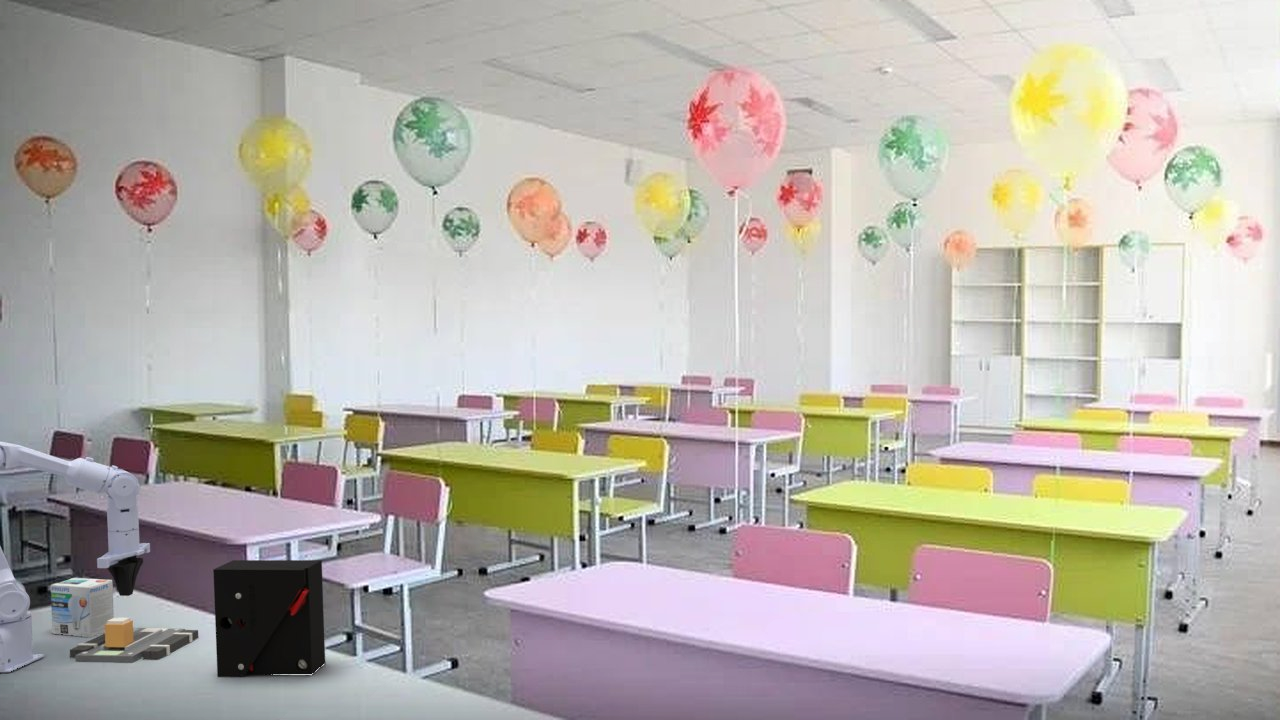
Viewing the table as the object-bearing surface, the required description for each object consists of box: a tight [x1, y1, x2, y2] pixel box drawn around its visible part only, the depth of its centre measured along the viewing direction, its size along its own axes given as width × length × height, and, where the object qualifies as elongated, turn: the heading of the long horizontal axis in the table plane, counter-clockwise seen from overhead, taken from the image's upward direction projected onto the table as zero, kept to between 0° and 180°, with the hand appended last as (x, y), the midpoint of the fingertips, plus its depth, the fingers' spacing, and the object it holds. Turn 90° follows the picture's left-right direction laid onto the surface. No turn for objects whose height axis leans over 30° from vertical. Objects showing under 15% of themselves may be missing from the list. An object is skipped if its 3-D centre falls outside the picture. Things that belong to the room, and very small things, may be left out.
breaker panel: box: [74, 627, 186, 664], centre depth 209 cm, size 18×12×2 cm, turn 173°
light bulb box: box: [50, 577, 115, 638], centre depth 221 cm, size 11×7×11 cm, turn 73°
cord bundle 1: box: [69, 632, 105, 659], centre depth 210 cm, size 14×4×2 cm, turn 173°
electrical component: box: [212, 559, 326, 678], centre depth 193 cm, size 18×10×20 cm, turn 84°
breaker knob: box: [105, 617, 134, 647], centre depth 205 cm, size 3×4×5 cm
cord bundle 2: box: [142, 629, 199, 661], centre depth 208 cm, size 14×4×2 cm, turn 173°
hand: (126, 594), depth 212 cm, fingers closed
